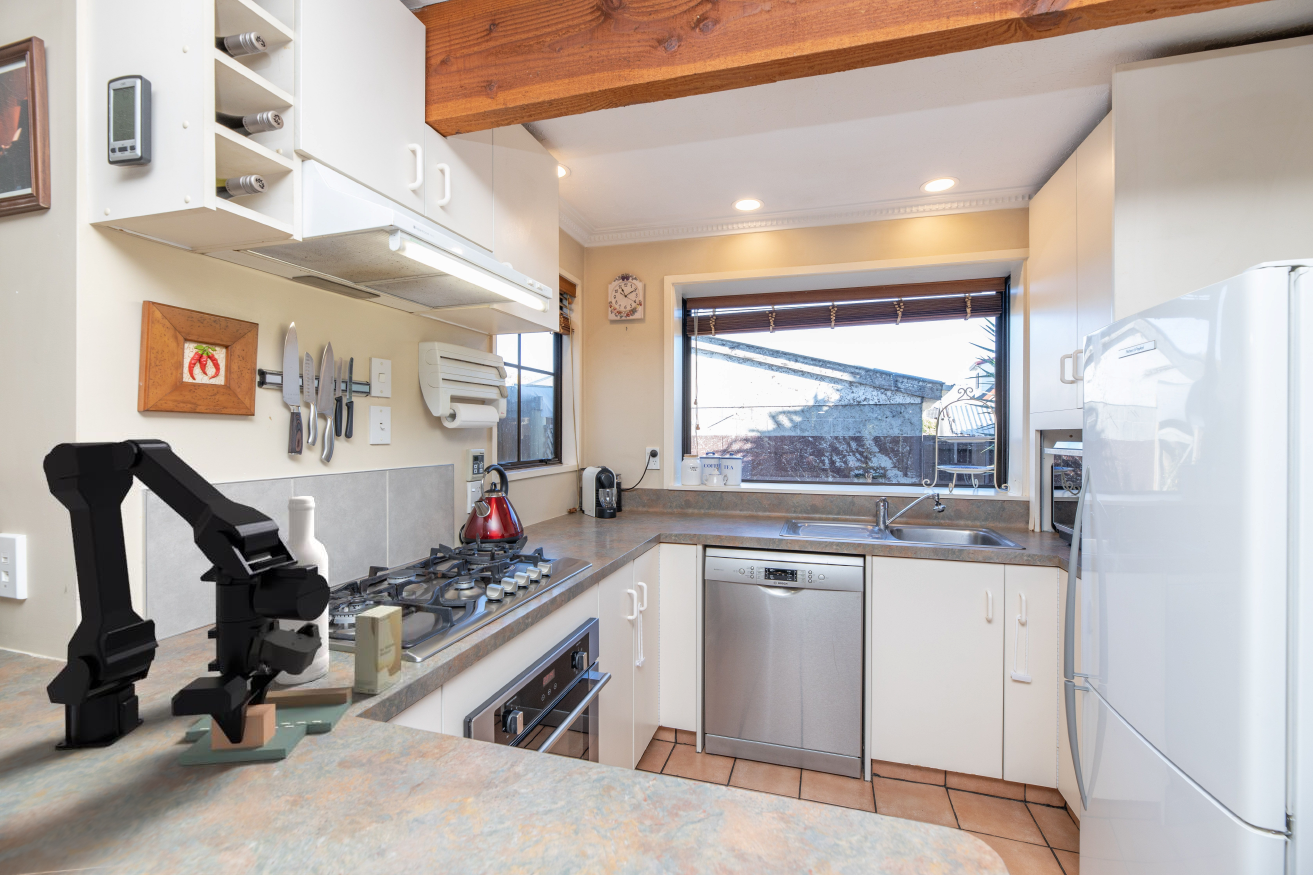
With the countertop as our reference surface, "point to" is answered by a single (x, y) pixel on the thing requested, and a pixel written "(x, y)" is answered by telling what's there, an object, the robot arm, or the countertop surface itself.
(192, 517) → the robot arm
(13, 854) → the countertop surface
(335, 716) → the dashed green plate
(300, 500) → the bottle
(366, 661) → the skincare box
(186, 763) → the stub
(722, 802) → the countertop surface
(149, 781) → the countertop surface
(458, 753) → the countertop surface
